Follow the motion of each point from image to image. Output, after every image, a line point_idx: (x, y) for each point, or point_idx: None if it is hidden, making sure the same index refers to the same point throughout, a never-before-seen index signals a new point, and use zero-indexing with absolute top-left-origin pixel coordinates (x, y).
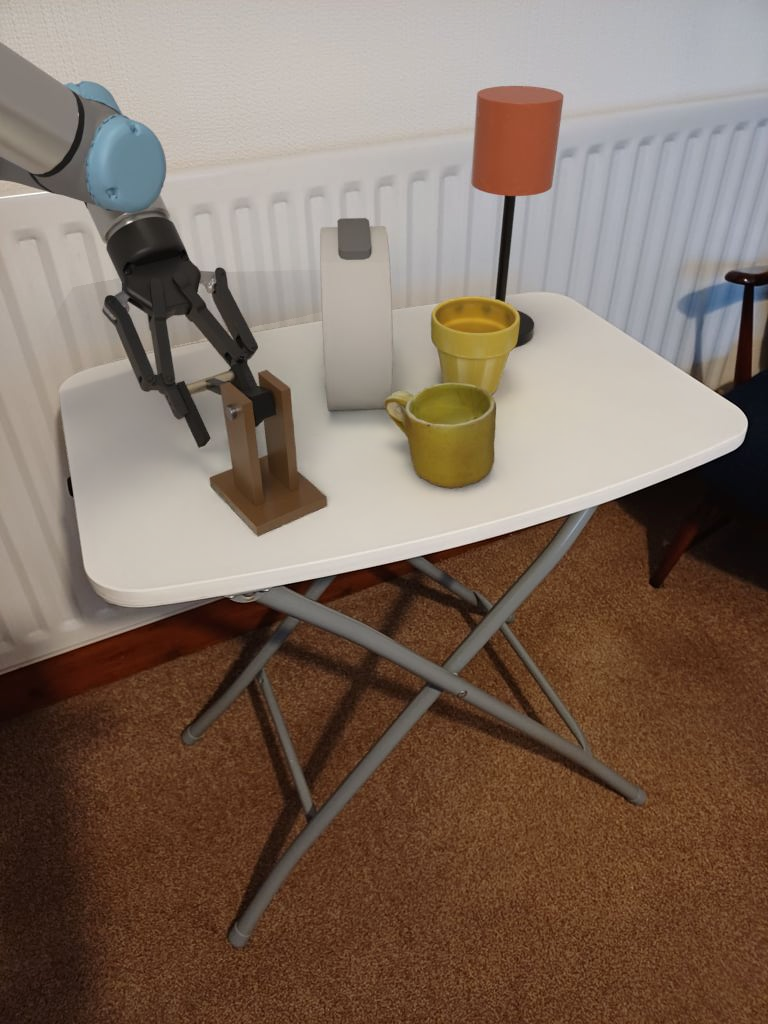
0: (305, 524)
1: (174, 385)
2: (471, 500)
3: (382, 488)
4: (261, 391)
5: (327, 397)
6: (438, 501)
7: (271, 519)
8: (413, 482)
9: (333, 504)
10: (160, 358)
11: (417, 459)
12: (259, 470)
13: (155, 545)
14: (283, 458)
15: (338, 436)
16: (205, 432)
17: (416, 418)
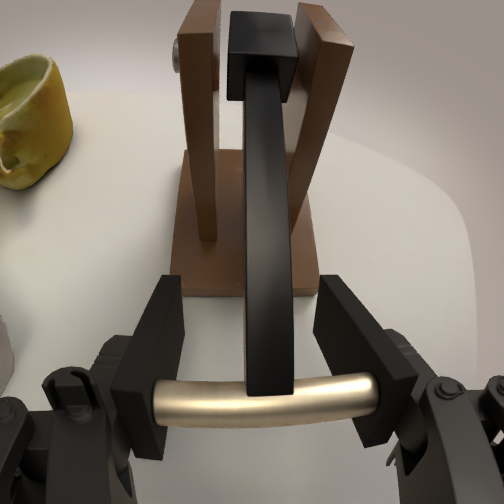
0: None
1: (416, 392)
2: (73, 111)
3: (108, 156)
4: (251, 17)
5: (2, 320)
6: (92, 119)
7: None
8: (78, 150)
9: (177, 160)
10: (493, 455)
11: (64, 124)
12: None
13: (413, 222)
14: (218, 146)
15: (50, 291)
16: (332, 281)
17: (43, 79)
